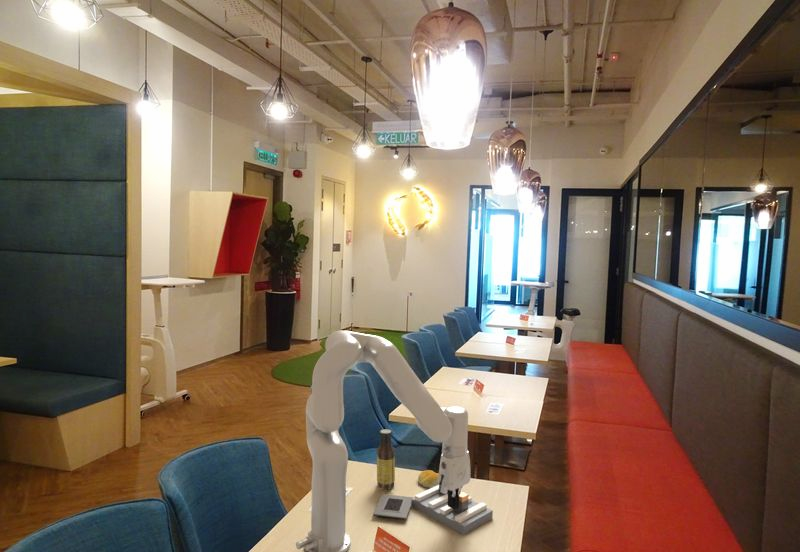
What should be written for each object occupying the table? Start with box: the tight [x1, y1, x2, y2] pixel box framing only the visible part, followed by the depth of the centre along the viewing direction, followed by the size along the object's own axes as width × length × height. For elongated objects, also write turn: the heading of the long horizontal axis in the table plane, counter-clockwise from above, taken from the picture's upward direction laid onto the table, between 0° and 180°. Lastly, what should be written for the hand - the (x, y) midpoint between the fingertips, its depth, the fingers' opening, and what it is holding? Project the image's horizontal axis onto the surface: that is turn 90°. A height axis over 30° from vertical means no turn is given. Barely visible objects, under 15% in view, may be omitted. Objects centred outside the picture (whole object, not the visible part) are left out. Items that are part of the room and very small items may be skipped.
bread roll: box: [417, 469, 439, 489], centre depth 188 cm, size 8×9×4 cm
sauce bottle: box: [376, 429, 396, 490], centre depth 184 cm, size 6×6×20 cm
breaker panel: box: [411, 485, 494, 536], centre depth 168 cm, size 14×22×4 cm, turn 43°
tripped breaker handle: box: [453, 490, 469, 514], centre depth 163 cm, size 3×4×6 cm
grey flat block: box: [372, 493, 414, 520], centre depth 169 cm, size 13×10×2 cm
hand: (453, 506), depth 161 cm, fingers closed
